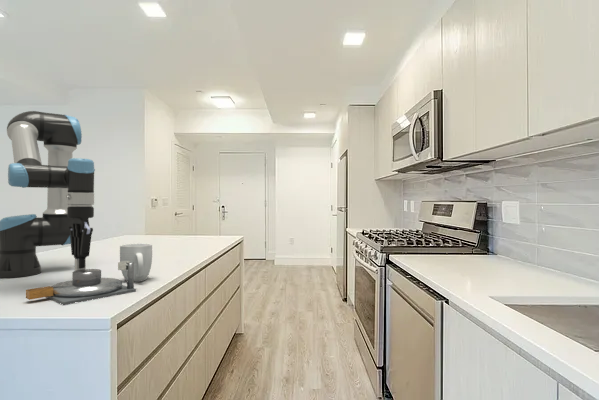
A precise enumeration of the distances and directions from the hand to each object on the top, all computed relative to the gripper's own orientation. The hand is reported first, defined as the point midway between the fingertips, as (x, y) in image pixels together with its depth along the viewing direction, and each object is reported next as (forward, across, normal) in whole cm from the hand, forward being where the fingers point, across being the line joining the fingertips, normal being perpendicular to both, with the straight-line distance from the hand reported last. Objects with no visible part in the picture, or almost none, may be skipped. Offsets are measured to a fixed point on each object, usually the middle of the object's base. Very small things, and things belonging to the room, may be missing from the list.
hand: (80, 277), depth 123 cm
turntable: (+3, +6, -3) cm, 7 cm away
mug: (+4, +1, +19) cm, 19 cm away
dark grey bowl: (+1, +5, 0) cm, 5 cm away
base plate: (+4, +6, 0) cm, 7 cm away
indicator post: (+4, +12, +9) cm, 16 cm away
